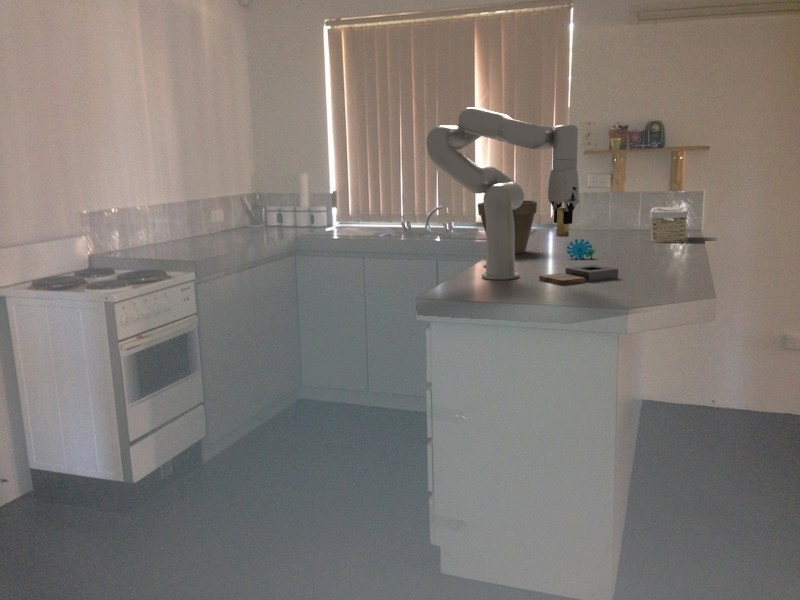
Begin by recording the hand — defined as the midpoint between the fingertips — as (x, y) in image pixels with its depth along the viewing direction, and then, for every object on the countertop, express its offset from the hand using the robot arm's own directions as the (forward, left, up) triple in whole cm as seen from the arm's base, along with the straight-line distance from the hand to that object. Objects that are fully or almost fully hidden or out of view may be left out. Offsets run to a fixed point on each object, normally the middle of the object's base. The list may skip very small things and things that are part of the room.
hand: (562, 222), depth 229 cm
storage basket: (-64, +110, -19) cm, 129 cm away
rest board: (0, 0, -19) cm, 19 cm away
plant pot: (-73, +27, -19) cm, 80 cm away
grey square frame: (0, +12, -19) cm, 22 cm away
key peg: (0, 0, -4) cm, 4 cm away
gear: (-39, +39, -19) cm, 58 cm away
